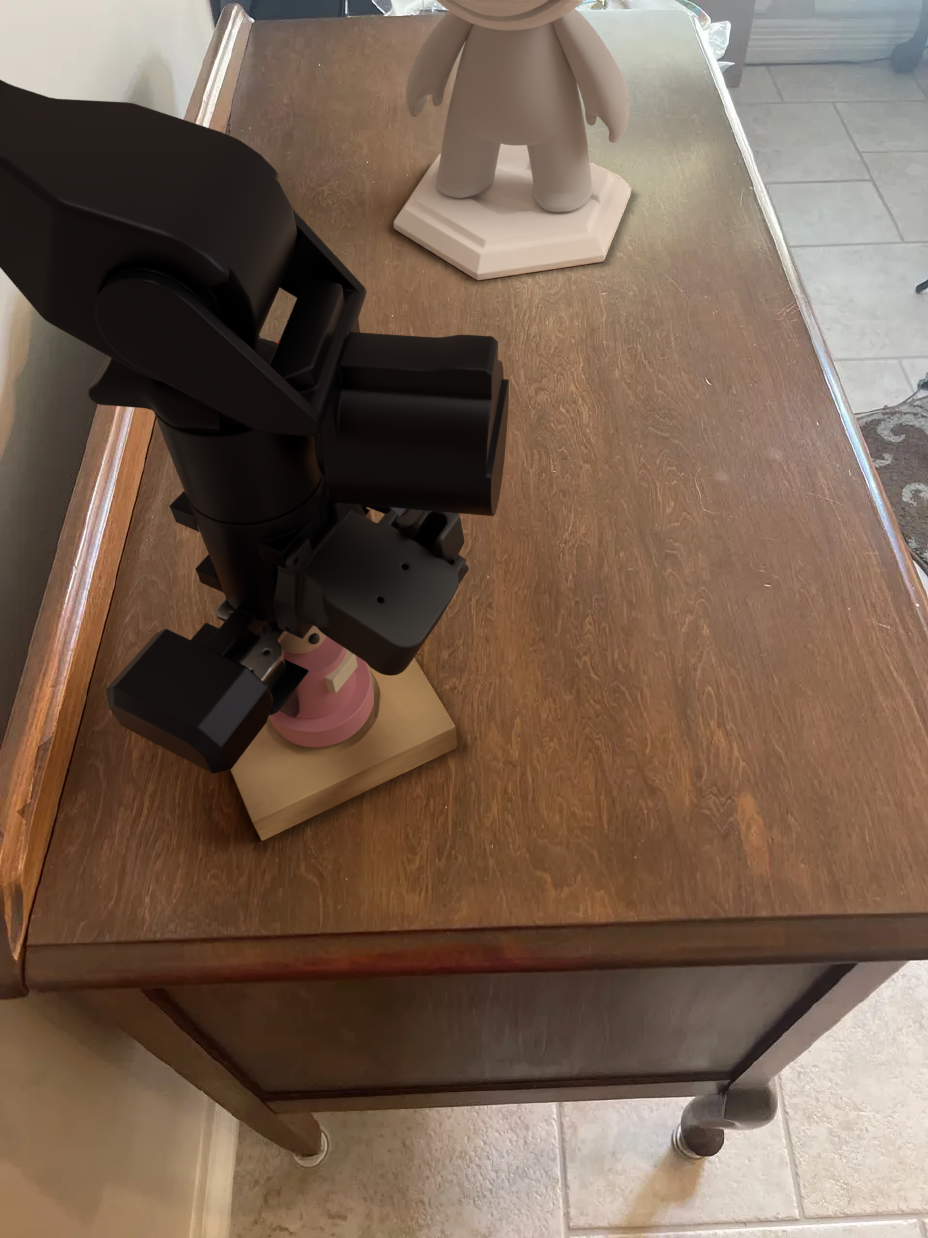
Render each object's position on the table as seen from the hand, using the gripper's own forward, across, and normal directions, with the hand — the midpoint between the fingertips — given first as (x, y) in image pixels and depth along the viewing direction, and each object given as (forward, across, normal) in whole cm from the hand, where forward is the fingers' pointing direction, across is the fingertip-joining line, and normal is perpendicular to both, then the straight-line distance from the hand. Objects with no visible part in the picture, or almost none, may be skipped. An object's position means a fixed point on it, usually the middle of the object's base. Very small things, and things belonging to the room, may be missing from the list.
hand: (314, 679), depth 50 cm
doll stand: (+5, 0, 0) cm, 5 cm away
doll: (+2, 0, 0) cm, 2 cm away
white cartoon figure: (+5, +55, +15) cm, 57 cm away
